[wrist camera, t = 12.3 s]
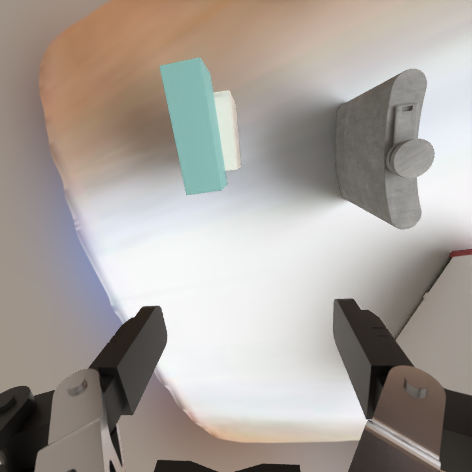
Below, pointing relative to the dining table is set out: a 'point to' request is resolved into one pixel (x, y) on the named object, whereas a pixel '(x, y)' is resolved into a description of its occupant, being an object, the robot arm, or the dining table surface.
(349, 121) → the hip flask
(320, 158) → the dining table surface
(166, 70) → the teal rectangular block
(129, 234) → the dining table surface
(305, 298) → the dining table surface
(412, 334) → the model house
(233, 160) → the cream rectangular block
